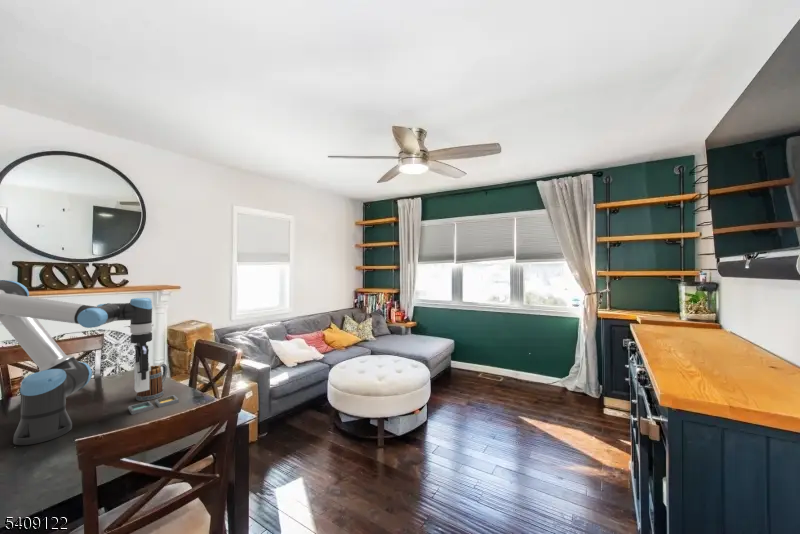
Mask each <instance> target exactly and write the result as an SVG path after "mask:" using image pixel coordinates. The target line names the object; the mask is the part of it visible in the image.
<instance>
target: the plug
mask: <svg viewBox="0 0 800 534" xmlns="http://www.w3.org/2000/svg"><path fill="white" fill-rule="evenodd" d="M151 366H152V365H150V362H149V361H148V369H149V370H148V371H147V386H145V387H141V388H139V373H138V372H140V365H139V362H138V363H135V362H134V363H133V367H134V369H133V370H134V371H133V372H134V376H133V377H134V380H133V381H134V386H133V387H134V391H135V393H136V394H137V393H138V392H142V391H146V390H149V371H151Z"/></svg>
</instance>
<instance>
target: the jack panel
mask: <svg viewBox="0 0 800 534" xmlns="http://www.w3.org/2000/svg"><path fill="white" fill-rule="evenodd" d="M178 403H180V398H178V397H177V396H176V395H175V394H172V395H168V396H164V397H160V398H157V399H154V404H155V405H156V406H157V407H158V408H163V407H167V406H170V405H174V404H178ZM154 404H153V403H152V401H151V400H149V401H142V402H140V403H136V404H132V405H128V408H127V409H128V411H129V413H130V415H135V414H139V413H143V412H148V411H150V410H154V409H155V405H154Z"/></svg>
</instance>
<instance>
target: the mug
mask: <svg viewBox="0 0 800 534" xmlns="http://www.w3.org/2000/svg"><path fill="white" fill-rule="evenodd" d="M150 366H151V371H149V390H146V391H142V392H138V393H137V392H136V398H135V399H136V401H138V402H147V401H155V399H159V398H162V397H163V396H164V390H165V387H163V384H164V383H165V381H166V378H167V375H168V367H167V364H166V363H159V364H158V365H150Z"/></svg>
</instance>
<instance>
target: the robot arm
mask: <svg viewBox="0 0 800 534" xmlns="http://www.w3.org/2000/svg"><path fill="white" fill-rule="evenodd" d="M39 319H40V320H45V321H53V322H59V323H60V322H61V323H69V324H76V325H79V326H81V327H82V328H86V329H93V328H98V327H100V326H103V325H107V324H109V323H113V322H117V321H129V322H130V326H129V329H130V343H132V344H135V345H134V350H135V352H134V355H135V356H134V360H135V362H134V363H138V362H139V365H140V372H138V373H139V388H141V387H145V386H147V371H148V370H149V369H148V362H149V351H150V349H149V345H148V344H147V343H149V342H151V341H153V332H152V331H153V328H152V327H154V323H153V303H152V299H151V298H149V297H135V298H134V297H133V298H131V299H130V302H124V303H121V302H120V303H110V302H108V303H100V304H97V305H96V306H93V305H85V304H81V303H74V302H67V301H60V300H54V299H48V298H39V297H35V296H34V297H32V296H30V292H29V289H28V288H27V287H26V286H25V285H24V284H22V283H20V282H18V281H15V280H6V279H2V280H1V279H0V323H1V324H2V325H3V327H5V329H6V330H7V331H8V333H9V334H10V335H11V336H12V337H13V339H14V340H15V341H16V342H17V344H19V346H20V347H21V348H22V349H23V351H25V353H26V354H27V355H28V356H29V358H30V359H31V360H32V361H33V363H34V364H35V365H36V366H37V367H38V368H39V371H36V372H34V373H32V374H29V375H28V376H26V377H24V378H23V379H22V381H21V383H20V388H19V392H20V421H19V423H18V426H17V427H16V430H15V432H14V434H13V439H12V440H13V441H12V442H13V444H14V445H15V446H16V445H17V446H28V445H29V446H30V445H35V444H39V443H40V444H41V443H44V442H48V441H51V440H54V439H57V438H59V437H62V436H63V435H65V434H67V433H69V432H70V431H71V430H72V429H73V422H72V419H71V417H70V415H69V414H68V411H67V410H66V405H67V404H66V403H67V400H66V399H67V397H69V396H71V395H73V394H74V393H76V392H78V391H80V390H81V389H83V388H84V387H85V386H87V385H88V384H89V382H90V380H91V379H92V376H93V371H92V368H91V366H90V365H89V364H88V363H86V362H83V361H82V362H81V361H78V360H77V359H76V358H75V356H73V355H67V354H66V353H65V352H64V351H63V349H62V348H61V347H60V346H59V344H58V343H57V342H56V341H55V339H54V338H53V337H52V336H51V335H50V333H49V332H48V331H47V330H46V328H45V327H44V326H43V325H42V324H41V322H40V321H39Z"/></svg>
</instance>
